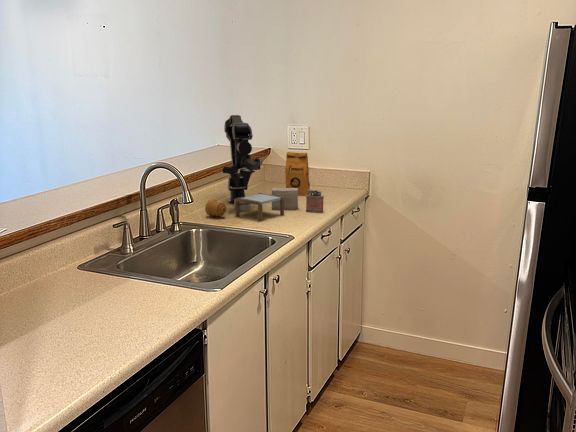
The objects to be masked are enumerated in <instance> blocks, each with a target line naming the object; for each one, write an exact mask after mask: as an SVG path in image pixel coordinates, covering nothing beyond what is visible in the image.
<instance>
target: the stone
mask: <svg viewBox="0 0 576 432" xmlns="http://www.w3.org/2000/svg"><path fill="white" fill-rule="evenodd" d="M240 198H243V197H240ZM240 203H241V202H240ZM233 204H234V205H233V206H234V209H233V210H235V211H236V199H234V203H233ZM250 210H251V204H246V205H242V206H240V212H245V211H250Z"/></svg>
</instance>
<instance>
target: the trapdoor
mask: <svg viewBox="0 0 576 432" xmlns="http://www.w3.org/2000/svg"><path fill="white" fill-rule="evenodd" d="M264 194H265V193H263V194H258V193H256V194H253V195H249V196H245V197H243V198H242V199H247V200H253V201H258V202H262V205H265V204H269V203H272V202H274V201H278V200H281V197H275V196H269V195H270V194H269V195H264Z"/></svg>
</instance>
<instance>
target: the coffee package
mask: <svg viewBox="0 0 576 432" xmlns="http://www.w3.org/2000/svg"><path fill="white" fill-rule="evenodd" d="M285 156H286V160H285V166H284V167H285V170H284V172H285V188H298V197H301V196H302V197H306V195H310V194H311V193H308V190H311V189H310V187H311V186H310V184H311V183H310V168H309V157H308V153H307V152H292V151H291V152H290V151H287V152H286V155H285Z"/></svg>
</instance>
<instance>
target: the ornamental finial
mask: <svg viewBox="0 0 576 432" xmlns="http://www.w3.org/2000/svg"><path fill="white" fill-rule="evenodd" d="M204 209H205V214H206V215H207V216H209V217H211V218H213V217H215V216H217V217H223V216H224V215H225V214H226V212H227V205H226V204H225V203H224V202H221V201H218V200H217V199H215V198H214V199H209V200H208V201H207V202H206V204H205V207H204Z"/></svg>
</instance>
